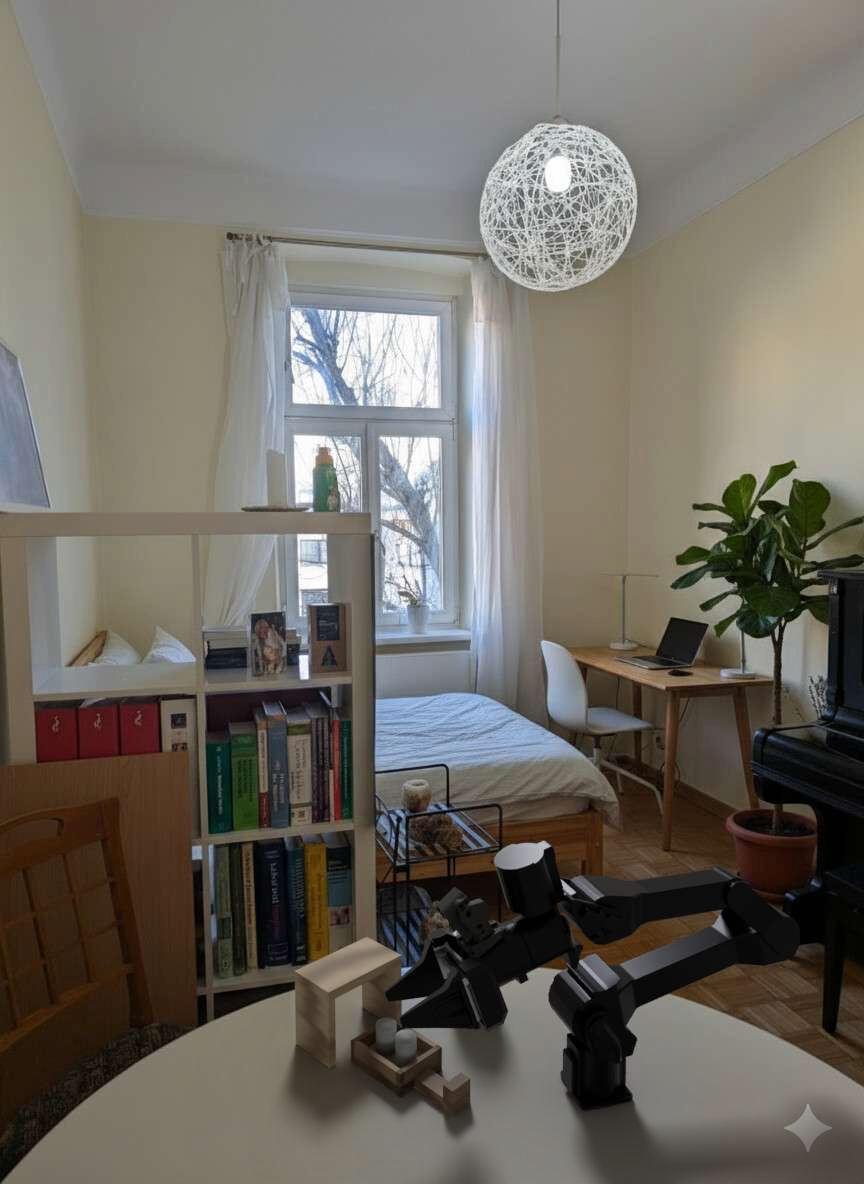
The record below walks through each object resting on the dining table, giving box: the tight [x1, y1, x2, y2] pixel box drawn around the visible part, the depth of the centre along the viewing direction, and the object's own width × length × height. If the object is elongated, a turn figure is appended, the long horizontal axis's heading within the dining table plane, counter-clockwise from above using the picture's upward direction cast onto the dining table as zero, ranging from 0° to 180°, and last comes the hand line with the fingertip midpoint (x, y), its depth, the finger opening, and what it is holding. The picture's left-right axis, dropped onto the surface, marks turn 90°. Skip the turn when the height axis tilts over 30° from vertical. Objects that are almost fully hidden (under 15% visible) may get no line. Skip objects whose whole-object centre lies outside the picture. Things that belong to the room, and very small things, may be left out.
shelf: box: [294, 936, 403, 1069], centre depth 105 cm, size 7×12×10 cm, turn 135°
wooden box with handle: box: [350, 1016, 471, 1117], centre depth 96 cm, size 16×7×5 cm, turn 45°
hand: (393, 1009), depth 86 cm, fingers open, 9 cm apart
